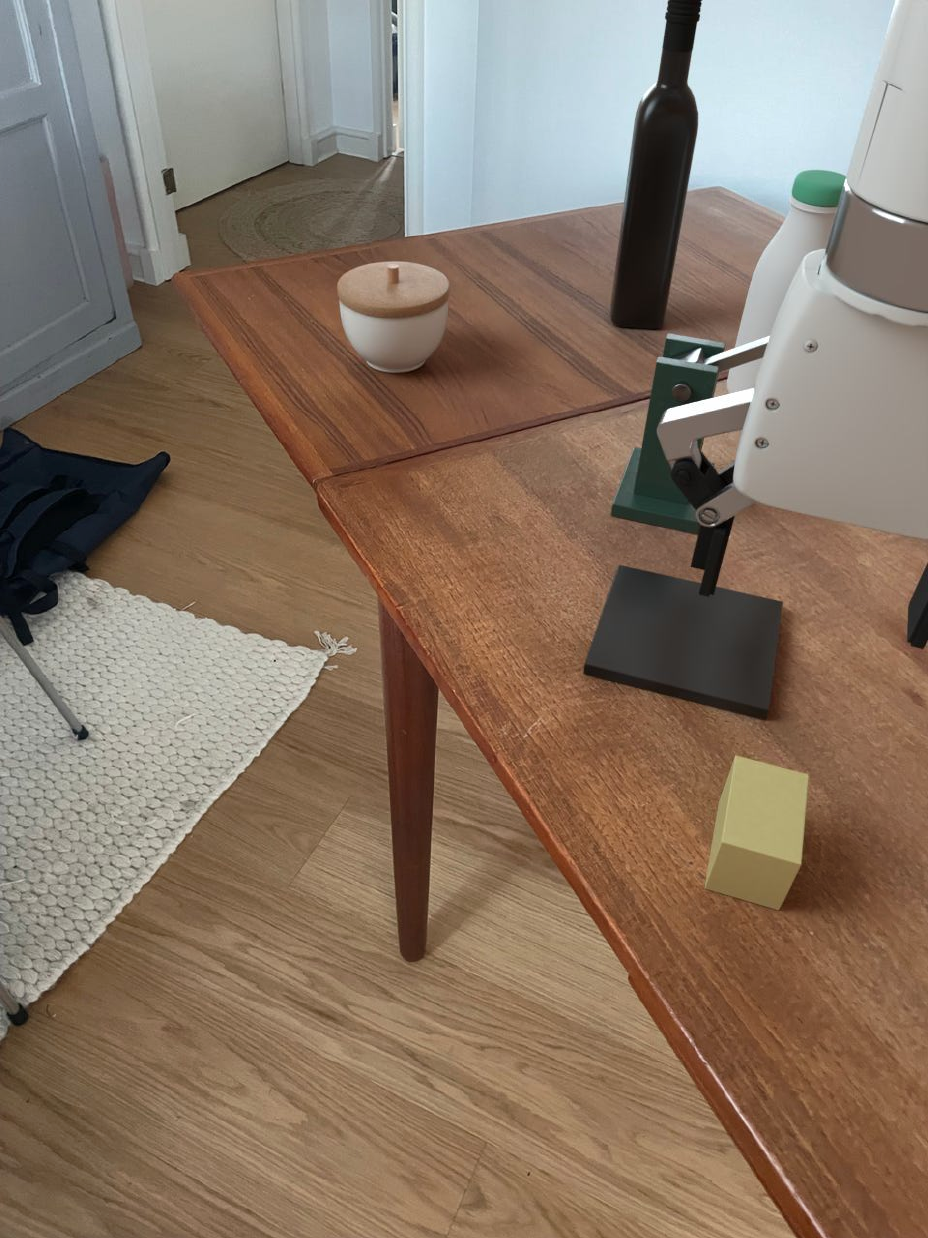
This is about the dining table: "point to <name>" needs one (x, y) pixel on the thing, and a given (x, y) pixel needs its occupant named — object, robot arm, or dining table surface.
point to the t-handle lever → (729, 355)
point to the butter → (758, 833)
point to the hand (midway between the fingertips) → (809, 603)
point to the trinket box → (394, 313)
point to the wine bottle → (657, 179)
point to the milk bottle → (786, 262)
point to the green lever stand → (648, 472)
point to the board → (687, 641)
